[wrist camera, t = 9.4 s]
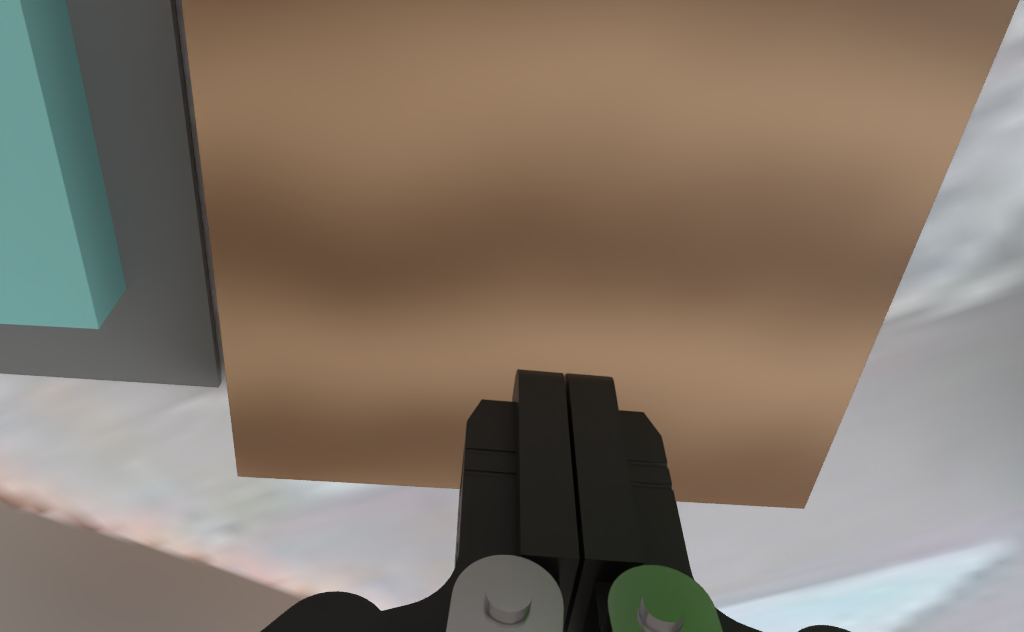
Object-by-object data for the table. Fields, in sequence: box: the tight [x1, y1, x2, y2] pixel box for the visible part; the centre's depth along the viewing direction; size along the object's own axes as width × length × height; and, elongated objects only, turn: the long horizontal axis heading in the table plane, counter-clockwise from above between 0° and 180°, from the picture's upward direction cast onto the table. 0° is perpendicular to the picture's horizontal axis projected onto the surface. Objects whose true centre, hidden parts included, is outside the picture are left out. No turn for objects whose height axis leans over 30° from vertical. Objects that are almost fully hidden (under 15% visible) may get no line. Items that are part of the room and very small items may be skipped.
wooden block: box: [181, 0, 1019, 509], centre depth 21 cm, size 16×16×4 cm
